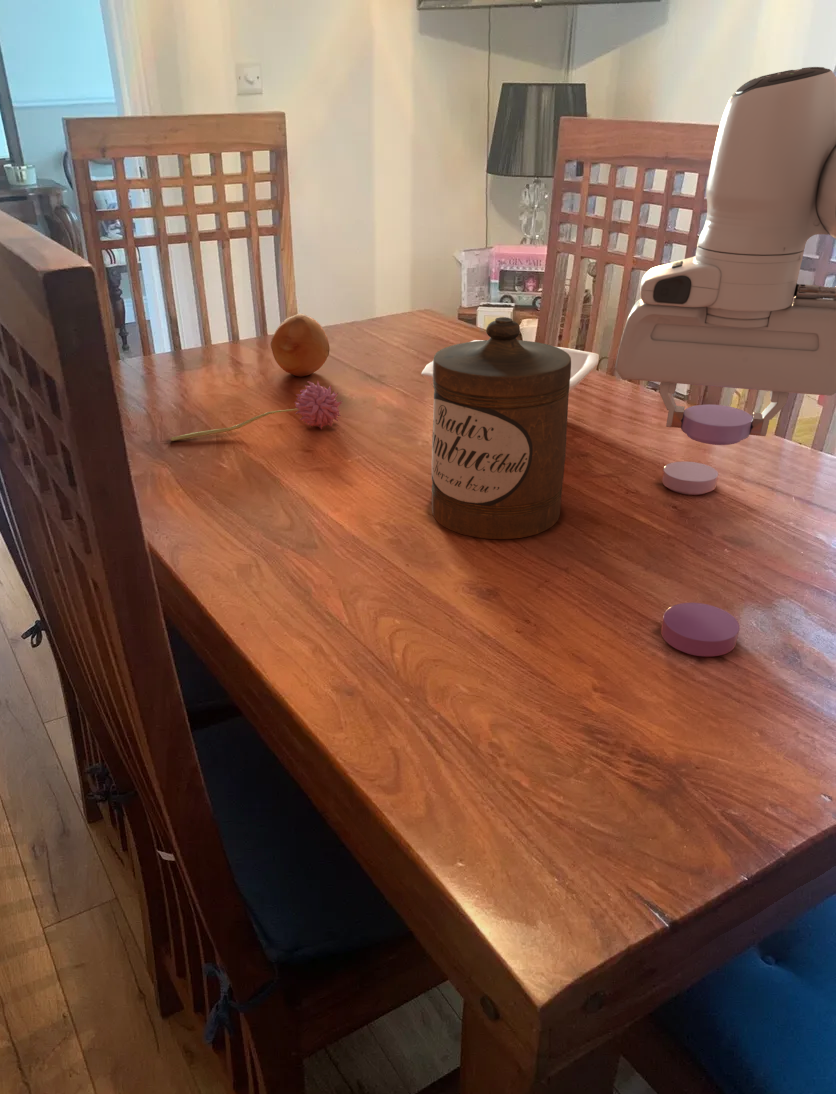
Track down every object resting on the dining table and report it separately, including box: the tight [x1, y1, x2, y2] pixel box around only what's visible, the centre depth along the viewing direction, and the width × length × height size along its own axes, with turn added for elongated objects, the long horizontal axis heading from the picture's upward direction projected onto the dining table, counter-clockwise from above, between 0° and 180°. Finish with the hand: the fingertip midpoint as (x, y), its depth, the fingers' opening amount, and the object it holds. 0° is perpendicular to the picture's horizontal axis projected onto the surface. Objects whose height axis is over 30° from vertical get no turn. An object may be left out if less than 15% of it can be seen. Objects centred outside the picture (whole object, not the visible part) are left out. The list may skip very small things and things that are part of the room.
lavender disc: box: [680, 404, 753, 446], centre depth 84 cm, size 6×6×2 cm
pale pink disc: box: [661, 460, 719, 496], centre depth 105 cm, size 6×6×2 cm
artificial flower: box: [170, 380, 343, 442], centre depth 123 cm, size 7×7×25 cm
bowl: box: [420, 339, 600, 394], centre depth 125 cm, size 22×23×8 cm
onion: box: [270, 313, 331, 377], centre depth 147 cm, size 10×10×10 cm
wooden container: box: [431, 316, 571, 540], centre depth 95 cm, size 15×15×22 cm
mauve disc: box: [660, 602, 741, 657], centre depth 76 cm, size 6×6×2 cm
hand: (714, 429), depth 84 cm, fingers closed on lavender disc, 6 cm apart
